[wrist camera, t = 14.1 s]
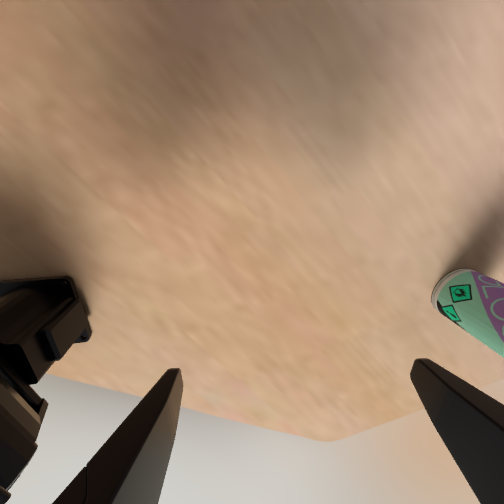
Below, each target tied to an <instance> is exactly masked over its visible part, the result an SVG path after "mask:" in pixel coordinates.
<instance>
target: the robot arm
mask: <svg viewBox="0 0 504 504" xmlns="http://www.w3.org/2000/svg"><path fill="white" fill-rule="evenodd" d="M63 281H65V282H66V283H67V284H65V283H64V282H63ZM84 336H85V337H84ZM90 338H91V332H90V329H89V326H88V320H87V318H86V315H85V312H84V309H83V306H82V303H81V301H80V300H79V297H78V294H77V291H76V288H75V285H74V282H73V280H72V279H71V278H70V277H68V276H58V277H45V278H31V279H18V280H4V281H0V504H5V503H6V502H7V501H8V500H9V498H10V497H11V494H10V493H9V492H8V490H9V489H10V488H11V486H12V485H13V484H14V483H15V481H16V480H17V479H18V477H19V476H20V474H21V473H22V471H23V470H24V468H25V467H26V466H27V465H28V463H29V461H30V460H31V458H32V456H33V455H34V453H35V451H36V449H37V447H38V445H37V444H36V443H35V441H36V439H37V436H38V433H39V430H40V427H41V424H42V421H43V418H44V415H45V412H46V410H47V406H48V403H47V401H46V400H45V399H44V398H43V399H41V398H40V396H39V395H38V394H37V393H36V392H35V391H34V390H33V389H32V388H31V386H30V385H31V384H36V383H38V381H39V380H40V379H41V377H42V376H43V375H44V374H45V373H46V372H47V370H48V369H49V368H50V367H51V365H52V364H53V363H54V362H55V361H59V360H60V359H61V358H62V357H63V356H64V354H65V353H66V352H67V351H68V349H69V348H70V347H71V346H72V344H73V343H81V342H87V341H88V340H89V339H90ZM410 377H411V381H412V383H413V385H414V387H415V389H416V391H417V393H418V395H419V397H420V399H421V401H422V403H423V405H424V407H425V409H426V410H427V413H428V415H429V417H430V419H431V421H432V423H433V425H434V426H435V428H436V430H437V432H438V433H439V435H440V436H441V438H442V440H443V441H444V443H445V445H446V447H447V448H448V450H449V451H450V453H451V455H452V457H453V458H454V460H455V462H456V463H457V465H458V466H459V468H460V470H461V472H462V473H463V475H464V476H465V478H466V480H467V482H468V483H469V485H470V487H471V488H472V490H473V491H474V493H475V495H476V496H477V498H478V500H479V502H480V503H481V504H504V405H503V404H501V403H500V402H498V401H497V400H495V399H493V398H492V397H490V396H488V395H487V394H485V393H483V392H482V391H480V390H479V389H477V388H475V387H474V386H472V385H470V384H469V383H467V382H466V381H464V380H462V379H461V378H459V377H457V376H456V375H454V374H452V373H451V372H449V371H448V370H446V369H444V368H443V367H441V366H439V365H438V364H436V363H435V362H433V361H431V360H429V359H427V358H419V359H416V360H415V361H414V364H413V367H412V370H411V373H410ZM182 392H183V381H182V375H181V370H180V369H179V368H170V369H168V370H167V371H166V372H165V373H164V375H163V376H162V377H161V378H160V379H159V380H158V382H157V383H156V384H155V385H154V386H153V387H152V389H151V390H150V391H149V392H148V393H147V394H146V396H145V397H144V398H143V399H142V400H141V401H140V403H139V404H138V405H137V406H136V407H135V408H134V410H133V411H132V412H131V413H130V414H129V415H128V417H127V418H126V419H125V420H124V421H123V422H122V424H121V425H120V426H119V427H118V428H117V430H116V431H115V432H114V433H113V434H112V435H111V436H110V438H109V439H108V440H107V441H106V443H104V445H103V446H102V447H101V448H100V449H99V450H98V452H97V453H96V454H95V455H94V456H93V458H92V459H91V460H90V461H89V462H88V463H87V467H84V468H83V469H82V470H81V471H80V472H79V474H78V475H77V476H76V477H75V478H74V479H73V481H72V482H71V483H70V484H69V485H68V486H67V487H66V489H65V490H64V491H63V492H62V493H61V494H60V495H59V497H58V498H57V499H56V500H55V501H54V502H53V503H52V504H158V501H159V497H160V494H161V489H162V486H163V482H164V478H165V475H166V471H167V467H168V463H169V459H170V455H171V451H172V448H173V444H174V440H175V435H176V429H177V422H178V416H179V410H180V405H181V398H182Z"/></svg>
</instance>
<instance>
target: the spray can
mask: <svg viewBox="0 0 504 504" xmlns="http://www.w3.org/2000/svg"><path fill="white" fill-rule="evenodd" d="M432 304H433V307H434V308H435V309H436V310H437V311H439V312H440V313H441V314H443V315H444V316H445V317H447V318H448V319H450V320H451V321H453V322H454V323H455V324H457V325H458V326H460V327H461V328H462V329H464V330H465V331H467V332H468V333H470V334H471V335H472V336H474V337H475V338H477V339H478V340H479V341H481V342H482V343H484V344H485V345H487V346H488V347H489V348H491V349H492V350H494V351H495V352H496V353H498V354H499V355H501V356H502V357H504V283H501V282H499V281H497V280H495V279H492V278H490V277H488V276H486V275H483V274H481V273H479V272H476V271H474V270H471V269H467V268H465V269H458V270H455V271H453V272H451V273H449V274H447V275H446V276H445V277H443V278H442V279H441V280H440V281H439V282H438V284H437V285H436V287H435V289H434V290H433V293H432Z"/></svg>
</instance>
